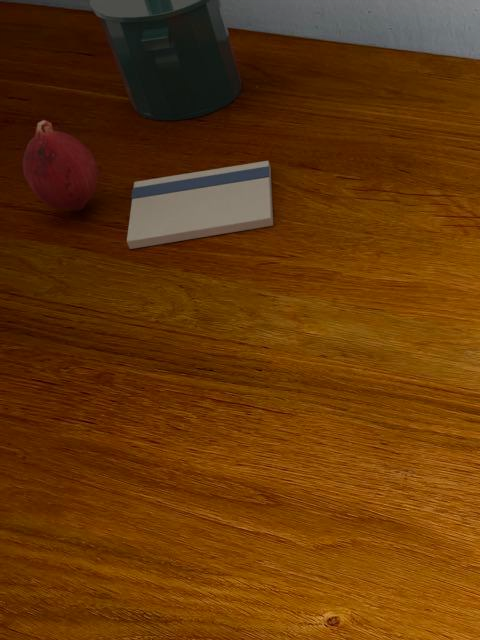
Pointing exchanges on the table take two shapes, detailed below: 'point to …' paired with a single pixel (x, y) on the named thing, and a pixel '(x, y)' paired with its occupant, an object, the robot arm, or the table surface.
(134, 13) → the pot lid
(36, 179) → the onion
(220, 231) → the towel
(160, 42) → the pot
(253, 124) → the table surface
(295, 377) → the table surface
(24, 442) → the table surface
